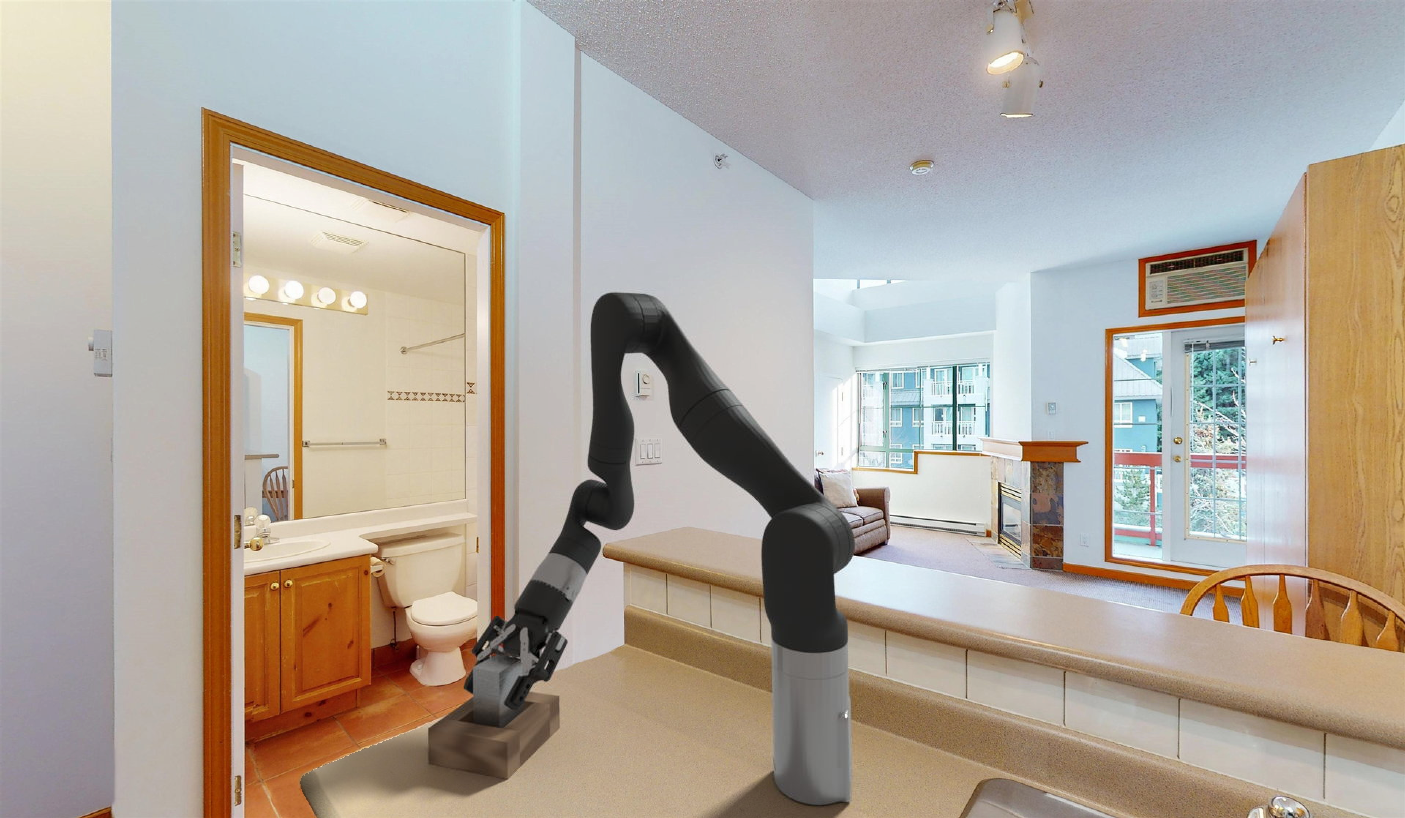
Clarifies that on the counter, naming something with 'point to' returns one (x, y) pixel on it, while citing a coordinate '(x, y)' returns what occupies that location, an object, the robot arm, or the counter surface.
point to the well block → (493, 738)
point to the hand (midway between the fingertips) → (488, 699)
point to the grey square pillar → (495, 690)
